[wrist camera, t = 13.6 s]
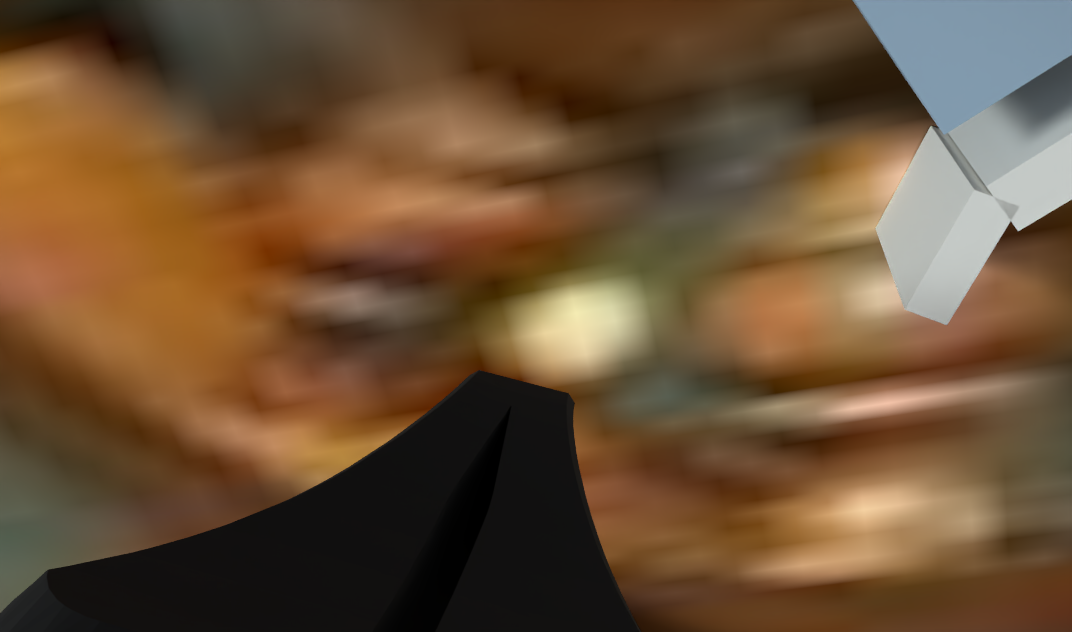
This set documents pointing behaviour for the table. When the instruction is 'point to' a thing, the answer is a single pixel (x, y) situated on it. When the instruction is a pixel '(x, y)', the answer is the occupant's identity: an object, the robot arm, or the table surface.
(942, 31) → the plug
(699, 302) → the table surface
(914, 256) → the port
